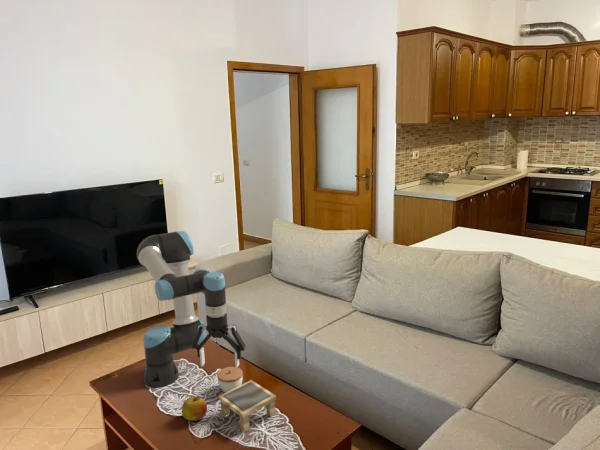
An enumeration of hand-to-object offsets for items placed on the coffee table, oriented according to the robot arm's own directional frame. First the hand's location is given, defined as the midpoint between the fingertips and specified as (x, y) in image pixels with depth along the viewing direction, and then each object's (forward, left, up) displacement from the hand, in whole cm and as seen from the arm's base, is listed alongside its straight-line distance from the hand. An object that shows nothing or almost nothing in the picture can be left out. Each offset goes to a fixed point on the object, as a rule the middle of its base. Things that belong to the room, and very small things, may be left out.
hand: (220, 365), depth 175 cm
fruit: (-6, -9, -22) cm, 24 cm away
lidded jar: (-12, +12, -22) cm, 28 cm away
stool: (+7, +7, -21) cm, 24 cm away
